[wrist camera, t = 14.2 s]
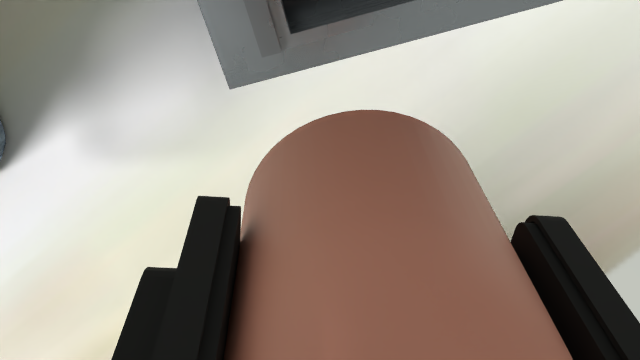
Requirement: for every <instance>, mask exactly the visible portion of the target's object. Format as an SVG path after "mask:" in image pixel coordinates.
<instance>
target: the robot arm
mask: <svg viewBox="0 0 640 360" xmlns="http://www.w3.org/2000/svg"><path fill="white" fill-rule="evenodd" d="M240 232H241V206H230V199H229V198H226V197H209V196H198V198H197V200H196V204H195V207H194V211H193V214H192V218H191V221H190V225H189V228H188V232H187V235H186V239H185V242H184V246H183V249H182V253H181V256H180V260H179V263H178V267H177V268H156V267H147V268H146V269H145V270H144V272H143V274H142V277H141V279H140V282H139V285H138V288H137V290H136V293H135V296H134V299H133V302H132V304H131V307H130V310H129V313H128V315H127V318H126V321H125V324H124V326H123V329H122V332H121V335H120V337H119V340H118V343H117V346H116V349H115V351H114V354H113V357H112V360H223V359H224V352H225V345H226V338H227V331H228V324H229V317H230V310H231V304H232V297H233V290H234V283H235V276H236V269H237V262H238V255H239V248H240ZM511 244H512V246H513V248H514V250H515V252H516V254H517V256H518V257H519V259H520V261H521V263H522V265H523V267H524V269H525V271H526V272H527V274H528V276H529V278H530V280H531V282H532V284H533V285H534V287H535V289H536V291H537V293H538V295H539V297H540V299H541V300H542V302H543V304H544V306H545V308H546V310H547V312H548V313H549V315H550V317H551V319H552V321H553V323H554V325H555V327H556V328H557V330H558V332H559V334H560V336H561V338H562V340H563V341H564V343H565V345H566V347H567V349H568V351H569V353H570V355H571V356H572V358H573V360H640V323H639V322H638V320H637V319H636V317H635V316H634V315H633V313H632V312H631V310H630V309H629V308H628V306H627V305H626V304H625V302H624V301H623V299H622V298H621V297H620V295H619V294H618V292H617V291H616V289H615V288H614V287H613V285H612V284H611V282H610V281H609V280H608V278H607V277H606V275H605V274H604V272H603V271H602V270H601V268H600V267H599V265H598V264H597V263H596V261H595V260H594V258H593V257H592V256H591V254H590V253H589V251H588V250H587V249H586V247H585V246H584V244H583V243H582V242H581V240H580V239H579V237H578V236H577V235H576V233H575V232H574V230H573V229H572V228H571V226H570V225H569V223H568V222H567V221H566V220H565V219H564V218H562V217H553V216H536V215H532V216H529V217H528V218H527V219H526V221H525V223H524V222H521V223H519V224H518V225H517V226H516V229H515V231H514V234H513V237H512V240H511Z"/></svg>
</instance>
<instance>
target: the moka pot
mask: <svg viewBox="0 0 640 360" xmlns="http://www.w3.org/2000/svg"><path fill="white" fill-rule="evenodd" d="M5 144H6V139H5V133H4V129H3V126H2V123H1V120H0V160H1V157H2V154H3V151H4V146H5Z"/></svg>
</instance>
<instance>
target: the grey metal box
mask: <svg viewBox="0 0 640 360" xmlns="http://www.w3.org/2000/svg"><path fill="white" fill-rule="evenodd" d="M197 1H198V4H199V6H200V9H201V12H202V15H203V17H204V20H205V23H206V26H207V28H208V31H209V34H210V37H211V39H212V42H213V45H214V48H215V50H216V53H217V56H218V59H219V61H220V64H221V67H222V70H223V72H224V75H225V78H226V81H227V83H228V86H229V89H233V88H237V87H241V86H245V85H248V84H252V83H256V82H260V81H263V80H267V79H271V78H275V77H278V76H282V75H286V74H290V73H293V72H297V71H301V70H305V69H308V68H312V67H316V66H320V65H323V64H327V63H331V62H335V61H338V60H342V59H346V58H349V57H353V56H357V55H361V54H364V53H368V52H372V51H376V50H379V49H383V48H387V47H391V46H394V45H398V44H402V43H406V42H409V41H413V40H417V39H421V38H424V37H428V36H432V35H436V34H439V33H443V32H447V31H451V30H454V29H458V28H462V27H466V26H469V25H473V24H477V23H481V22H484V21H488V20H492V19H495V18H499V17H503V16H507V15H510V14H514V13H518V12H522V11H525V10H529V9H533V8H537V7H540V6H544V5H548V4H552V3H555V2H559V1H563V0H197Z"/></svg>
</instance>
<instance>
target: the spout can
mask: <svg viewBox="0 0 640 360" xmlns="http://www.w3.org/2000/svg"><path fill="white" fill-rule="evenodd" d="M223 360H573V358H572V356H571V355H570V353H569V351H568V349H567V347H566V345H565V343H564V341H563V340H562V338H561V336H560V334H559V332H558V330H557V328H556V327H555V325H554V323H553V321H552V319H551V317H550V315H549V313H548V312H547V310H546V308H545V306H544V304H543V302H542V300H541V299H540V297H539V295H538V293H537V291H536V289H535V287H534V285H533V284H532V282H531V280H530V278H529V276H528V274H527V272H526V271H525V269H524V267H523V265H522V263H521V261H520V259H519V257H518V256H517V254H516V252H515V250H514V248H513V246H512V244H511V243H510V241H509V239H508V237H507V235H506V233H505V231H504V229H503V228H502V226H501V224H500V222H499V220H498V218H497V216H496V215H495V213H494V211H493V209H492V207H491V205H490V203H489V201H488V200H487V198H486V196H485V194H484V192H483V190H482V188H481V187H480V185H479V183H478V181H477V179H476V177H475V175H474V173H473V172H472V170H471V168H470V166H469V164H468V162H467V161H466V159H465V158H464V156H463V155H462V153H461V152H460V150H459V149H458V148H457V147H456V146H455V145H454V144H453V142H452V141H451V140H450V139H449V138H447V137H446V136H445V135H444V134H442V133H441V132H440V131H439V130H437V129H435V128H433V127H432V126H430V125H428V124H427V123H425V122H422V121H420V120H418V119H415V118H413V117H410V116H406V115H403V114H399V113H395V112H388V111H381V110H356V111H346V112H341V113H337V114H332V115H328V116H325V117H322V118H320V119H317V120H314V121H312V122H310V123H308V124H306V125H304V126H302V127H300V128H298V129H296V130H295V131H293V132H292V133H290V134H289V135H287V136H286V137H284V138H283V139H282V140H281V141H280V142H279V143H277V144H276V145H275V146H274V147H273V148H272V149H271V150H270V151H269V152H268V154H267V155H266V156H265V157H264V158H263V159H262V161H261V163H260V164H259V166H258V167H257V169H256V170H255V172H254V174H253V177H252V179H251V181H250V183H249V187H248V190H247V194H246V199H245V205H244V212H243V219H242V226H241V232H240V248H239V255H238V262H237V269H236V276H235V283H234V290H233V297H232V304H231V310H230V317H229V324H228V331H227V338H226V345H225V352H224V359H223Z"/></svg>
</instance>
